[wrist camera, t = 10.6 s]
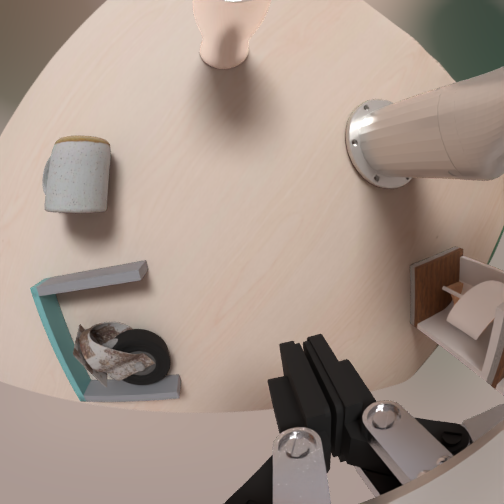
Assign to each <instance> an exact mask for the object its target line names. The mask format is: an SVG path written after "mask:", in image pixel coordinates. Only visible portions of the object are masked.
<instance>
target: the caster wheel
mask: <svg viewBox="0 0 504 504" xmlns="http://www.w3.org/2000/svg"><path fill="white" fill-rule="evenodd" d="M73 355H74V357H75V358H76V359H77V360H78V361H79V362H80V363H81V364H82V365H83V366H84V367H85V368H86V369H87V370H88V371H89V372H90V373H91V374H92V375H93V376H94V377H95V378H96V379H97V380H99V381H100V382H101V383H102V384H103V385H104V386H105V387H107V374H108V375H109V376H110V377H112V378H113V379H115V380H118V381H120V380H123V381H125V382H127V383H130V384H134V385H149V384H153V383H155V382H157V381H159V380H161V379H162V378H163V377H164V376H165V375H166V374H167V373H168V371H169V368H170V358H169V353H168V349H167V346H166V344H165V342H164V341H163V340H162V339H161V338H160V337H159V336H158V335H156V334H155V333H153V332H150V331H147V330H143V329H132V328H131V327H129V326H127V325H125V324H123V323H120V322H104V323H100V324H97V325H94V326H92V327H91V328H89V329H87V330H85V329H84V328H83V327H82V326H81V324H80V325H79V328H78V332H77V337H76V341H75V346H74V350H73Z"/></svg>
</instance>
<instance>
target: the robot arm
mask: <svg viewBox="0 0 504 504" xmlns="http://www.w3.org/2000/svg"><path fill="white" fill-rule="evenodd" d="M352 143H353V145H352ZM346 146H347V150H348V153H349V156H350V158H351V161H352V163H353V165H354V166H355V168H356V169H357V171H358V172H359V173H360V174H361V176H362V177H363V178H364V179H366V180H367V181H368V182H369V183H371V184H373V185H375V186H378V187H381V188H389V189H392V188H398V187H401V186H404V185H405V184H407V183H408V182H409V181H410V180H411V179H412V178H443V179H462V180H478V181H488V180H493V179H496V178H498V177H500V176H501V175H502V174H504V67H501V68H499V69H496V70H494V71H492V72H489V73H486V74H483V75H480V76H477V77H473V78H470V79H467V80H464V81H460V82H457V83H453V84H450V85H447V86H444V87H440V88H437V89H434V90H431V91H428V92H425V93H422V94H419V95H416V96H413V97H410V98H407V99H404V100H402V101H399V102H396V103H392V102H390V101H387V100H383V99H372V100H369V101H366V102H364V103H362V104H360V105H359V106H358V107H356V108H355V110H354V111H353V112H352V113H351V115H350V117H349V119H348V123H347V127H346ZM279 345H280V353H281V359H282V366H283V372H284V376H283V377H278V378H274V379H269V380H268V385H269V390H270V395H271V399H272V404H273V408H274V412H275V417H276V421H277V425H278V429H279V433H280V435H278V436H277V437H276V439H275V441H274V444H273V455H272V456H271V457H270V458H269V459H268V460H267V461H266V462H265V463H264V464H263V465H262V467H261V468H260V469H259V470H258V471H257V472H256V473H255V474H254V475H253V476H252V477H251V478H250V479H249V480H248V481H247V482H246V483H245V484H244V485H243V486H242V487H241V488H240V489H239V490H237V491H236V492H235V493H234V494H233V495H232V496H231V497H230V498H229V499H228V500H227V501H226V502H225V503H224V504H331V501H330V493H329V486H328V480H327V473H328V471H329V470H330V458H331V453H332V455H333V457H336V456H338V457H339V459H340V462H343V461H346V462H347V464H350V465H353V466H354V467H355V469H356V471H357V473H358V474H359V475H360V477H361V478H362V480H363V481H364V482H365V484H366V485H367V487H368V488H369V489H370V491H371V492H372V493H373V495H374V496H375V498H373V499H370V500H368V501H365V502H363V503H360V504H504V404H501V405H498V406H496V407H494V408H492V409H490V410H487V411H485V412H483V413H481V414H479V415H476V416H474V417H472V418H469V419H467V420H464V421H463V422H462V424H456V423H448V422H440V421H433V420H426V419H420V418H414V417H413V416H412V415H411V414H410V413H408V411H406V410H405V409H404V408H403V407H402V406H401V405H400V404H398V403H397V402H393V401H389V400H383V401H378V402H376V400H375V398H374V397H373V396H372V394H371V392H370V391H369V389H368V388H367V386H366V385H365V383H364V382H363V380H362V379H361V377H360V376H359V374H358V373H357V371H356V370H355V368H354V367H353V365H352V364H351V362H350V361H349V360H347V359H346V360H343V361H338V360H337V358H336V356H335V355H334V353H333V352H332V350H331V348H330V347H329V345H328V343H327V342H326V340H325V339H324V337H323V335H322V334H318V335H314V336H311V337H308V338H307V341H305V342H303V349H302V347H301V345H300V343H297V344H295V343H294V341H290V342H286V343H281V344H279ZM303 350H304V352H303Z"/></svg>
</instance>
